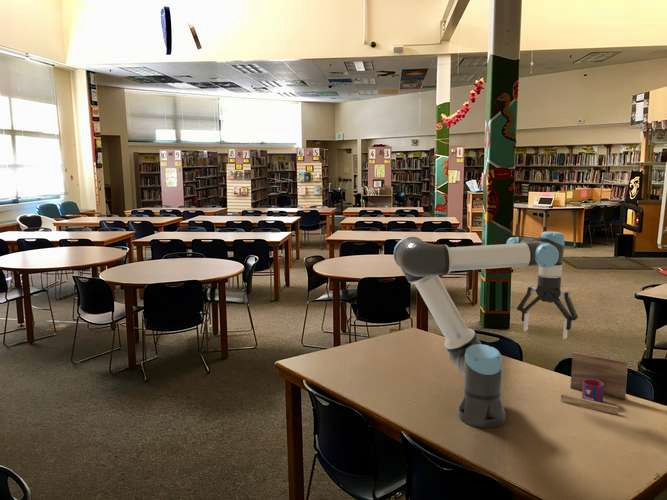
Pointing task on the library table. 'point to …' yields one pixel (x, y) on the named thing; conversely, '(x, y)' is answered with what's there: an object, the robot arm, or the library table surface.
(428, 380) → the library table surface
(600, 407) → the cleat ledge
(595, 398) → the mug
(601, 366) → the wall board
